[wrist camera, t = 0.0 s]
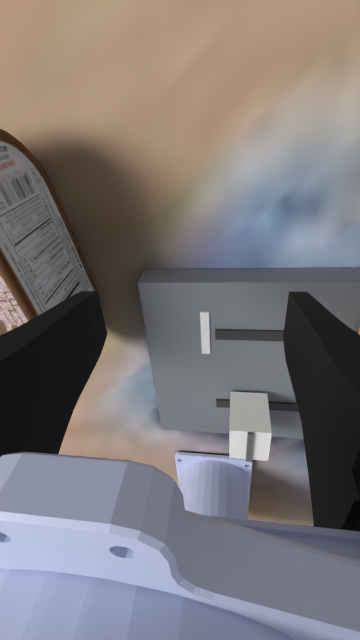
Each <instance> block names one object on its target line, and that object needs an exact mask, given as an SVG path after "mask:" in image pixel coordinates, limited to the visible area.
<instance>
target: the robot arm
mask: <svg viewBox="0 0 360 640" xmlns="http://www.w3.org/2000/svg"><path fill="white" fill-rule="evenodd" d="M106 336H107V330H106V326H105V322H104V318H103V314H102V310H101V306H100V302H99V298H98V294H97V291H81V292H79V293H77V294H75V295H73V296H71V297H69V298H67V299H66V300H64V301H62V302H61V303H59V304H57V305H56V306H54V307H52V308H50V309H49V310H47V311H45V312H44V313H42V314H40V315H38V316H37V317H35V318H33V319H31V320H29V321H27V322H26V323H24V324H22V325H20V326H18V327H16V328H14V329H12V330H10V331H8V332H6V333H4V334H2V335H0V640H360V335H359V334H358V333H356V332H355V331H353V330H352V329H351V328H349V327H348V326H347V325H345V324H344V323H343V322H342V321H340V320H339V319H338V318H337V317H335V316H334V315H333V314H332V313H331V312H330V311H328V310H327V309H326V308H325V307H324V306H323V305H322V304H321V303H319V302H318V301H317V300H316V299H315V298H314V297H313V296H312V295H311V294H309V293H308V292H289V296H288V303H287V311H286V318H285V326H284V334H283V342H284V351H285V359H286V364H287V368H288V372H289V376H290V379H291V383H292V387H293V391H294V395H295V398H296V402H297V406H298V410H299V414H300V419H301V424H302V431H303V437H304V444H305V452H306V459H307V467H308V475H309V483H310V492H311V501H312V510H313V520H314V527H312V526H302V525H293V524H283V523H274V522H264V521H255V520H248V506H249V497H250V486H251V475H252V464H253V462H252V460H251V462H246V459H238V458H229V456H226V455H213V454H200V453H187V452H177V453H176V455H175V460H176V467H177V475H178V482H179V487H178V486H177V484H176V482H175V481H174V479H173V478H172V477H171V476H169V475H167V474H166V473H164V472H162V471H161V470H159V469H157V468H156V467H154V466H152V465H147V464H143V463H139V462H135V461H130V460H119V459H107V458H95V457H83V456H71V455H59V454H58V453H59V450H60V447H61V444H62V441H63V438H64V435H65V432H66V429H67V426H68V424H69V421H70V418H71V415H72V413H73V410H74V408H75V405H76V403H77V401H78V399H79V397H80V395H81V393H82V391H83V389H84V387H85V385H86V383H87V381H88V379H89V377H90V375H91V373H92V371H93V369H94V367H95V365H96V363H97V361H98V359H99V357H100V355H101V352H102V349H103V346H104V343H105V339H106Z"/></svg>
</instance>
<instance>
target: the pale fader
mask: <svg viewBox="0 0 360 640" xmlns="http://www.w3.org/2000/svg"><path fill="white" fill-rule="evenodd" d="M271 435H272V432H271V423H270V414H269V405H268V396H267V393H249V392H230V436H229V458H238V459H246V462H251V460H264V461H268V457H269V450H270V442H271Z"/></svg>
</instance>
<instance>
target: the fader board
mask: <svg viewBox="0 0 360 640" xmlns="http://www.w3.org/2000/svg"><path fill="white" fill-rule="evenodd" d="M138 288H139V294H140V300H141V306H142V312H143V318H144V324H145V331H146V337H147V343H148V349H149V355H150V361H151V367H152V373H153V380H154V386H155V392H156V398H157V404H158V410H159V416H160V422H161V429H168V430H183V431H198V432H213V433H228V434H230V392H249V393H267V396H268V405H269V414H270V423H271V432H272V435H271V436H272V437H287V438H302V439H304V437H303V431H302V424H301V419H300V414H299V410H298V406H297V402H296V398H295V395H294V391H293V387H292V383H291V379H290V376H289V372H288V368H287V364H286V359H285V351H284V342H283V334H284V326H285V318H286V311H287V303H288V296H289V292H308V293H309V294H311V295H312V296H313V297H314V298H315V299H316V300H317V301H318V302H319V303H321V304H322V305H323V306H324V307H325V308H326V309H327V310H328V311H330V312H331V313H332V314H333V315H334V316H335V317H337V318H338V319H339V320H340V321H342V322H343V323H344V324H345V325H347V326H348V327H349V328H351V329H352V330H353V331H355V332H356V333H358V331H359V327H360V267H354V268H226V269H144V271H143V273H142V275H141V277H140V279H139V281H138Z"/></svg>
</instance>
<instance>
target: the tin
mask: <svg viewBox="0 0 360 640" xmlns="http://www.w3.org/2000/svg"><path fill="white" fill-rule="evenodd" d="M81 291H96V289H95V287H94V284H93V282H92V280H91V277H90V275H89V272H88V270H87V268H86V265H85V263H84V260H83V258H82V256H81V253H80V251H79V248H78V246H77V244H76V241H75V239H74V237H73V234H72V232H71V230H70V227H69V225H68V223H67V220H66V218H65V215H64V213H63V211H62V209H61V206H60V204H59V202H58V199H57V197H56V195H55V192H54V190H53V188H52V186H51V184H50V182H49V180H48V178H47V176H46V174H45V173H44V171H43V169H42V168H41V166H40V165H39V163H38V162H37V161H36V159H35V158H34V157H33V155H32V154H31V153H30V152H29V151H28V149H27V148H26V147H25V146H24V145H23V144H22V143H21V142H19V141H18V140H17V139H16V138H15V137H13V136H12V135H11V134H9V133H8V132H6V131H4V130H2V129H0V335H2V334H4V333H6V332H8V331H10V330H12V329H14V328H16V327H18V326H20V325H22V324H24V323H26V322H27V321H29V320H31V319H33V318H35V317H37V316H38V315H40V314H42V313H44V312H45V311H47V310H49V309H50V308H52V307H54V306H56V305H57V304H59V303H61V302H62V301H64V300H66V299H67V298H69V297H71V296H73V295H75V294H77V293H79V292H81Z"/></svg>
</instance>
